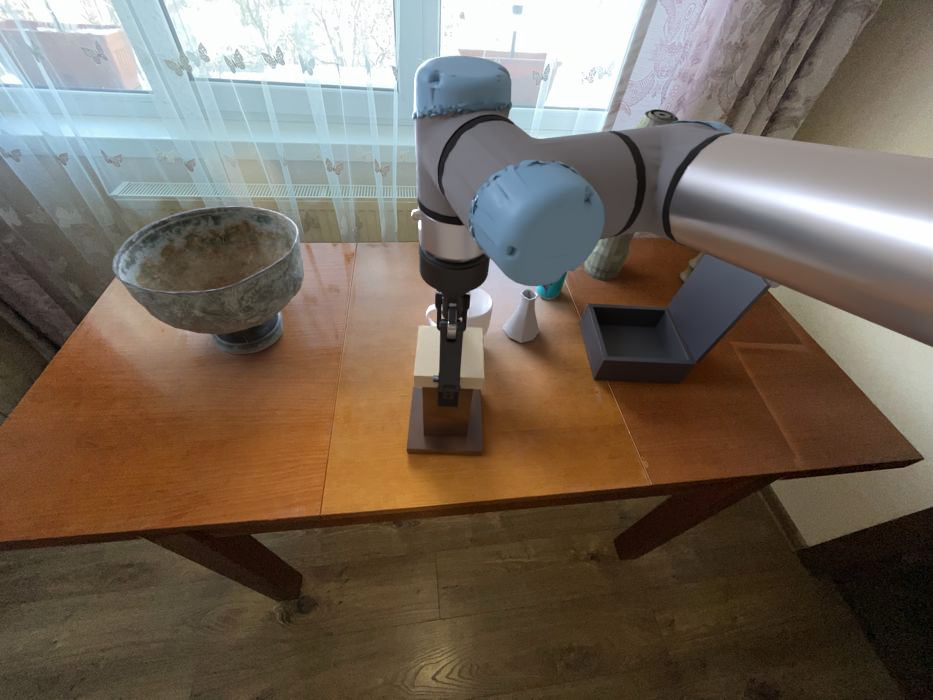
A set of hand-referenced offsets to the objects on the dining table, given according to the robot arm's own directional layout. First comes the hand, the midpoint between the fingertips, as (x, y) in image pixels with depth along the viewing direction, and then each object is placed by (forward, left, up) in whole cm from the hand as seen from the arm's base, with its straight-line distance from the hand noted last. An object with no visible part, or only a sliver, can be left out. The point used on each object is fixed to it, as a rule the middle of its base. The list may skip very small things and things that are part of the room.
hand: (448, 376), depth 58 cm
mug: (+17, -6, -13) cm, 23 cm away
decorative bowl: (+29, +33, -13) cm, 46 cm away
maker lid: (+6, -48, +2) cm, 49 cm away
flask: (+18, -20, -13) cm, 30 cm away
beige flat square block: (0, 0, +3) cm, 3 cm away
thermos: (+34, -47, -13) cm, 60 cm away
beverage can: (+28, -30, -13) cm, 43 cm away
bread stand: (0, 0, -13) cm, 13 cm away
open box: (+8, -39, -13) cm, 42 cm away
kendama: (+26, -67, -13) cm, 73 cm away
